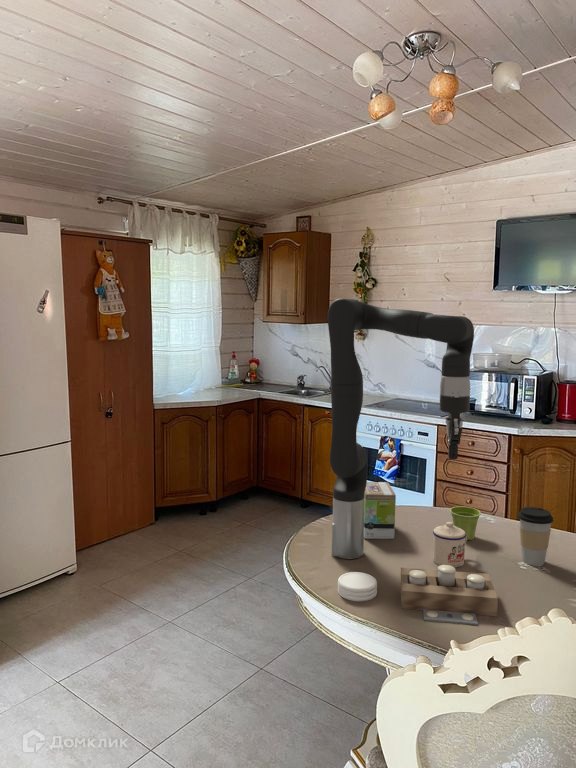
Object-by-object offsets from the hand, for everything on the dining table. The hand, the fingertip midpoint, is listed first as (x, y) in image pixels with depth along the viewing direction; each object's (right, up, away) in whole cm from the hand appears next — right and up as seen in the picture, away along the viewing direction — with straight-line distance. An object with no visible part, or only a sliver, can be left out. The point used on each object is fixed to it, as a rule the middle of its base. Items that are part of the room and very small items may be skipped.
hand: (452, 458), depth 148 cm
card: (-6, -35, -17) cm, 39 cm away
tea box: (-14, -29, +38) cm, 50 cm away
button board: (-4, -34, -8) cm, 35 cm away
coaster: (-26, -34, -4) cm, 43 cm away
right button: (+3, -32, -9) cm, 34 cm away
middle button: (-4, -30, -8) cm, 31 cm away
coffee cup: (+27, -32, +14) cm, 44 cm away
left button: (-11, -32, -7) cm, 34 cm away
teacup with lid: (+4, -32, +15) cm, 35 cm away
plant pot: (+13, -30, +33) cm, 46 cm away
